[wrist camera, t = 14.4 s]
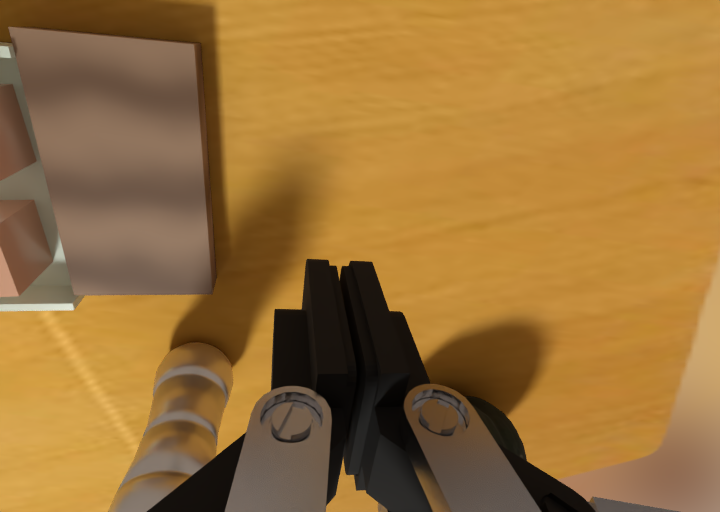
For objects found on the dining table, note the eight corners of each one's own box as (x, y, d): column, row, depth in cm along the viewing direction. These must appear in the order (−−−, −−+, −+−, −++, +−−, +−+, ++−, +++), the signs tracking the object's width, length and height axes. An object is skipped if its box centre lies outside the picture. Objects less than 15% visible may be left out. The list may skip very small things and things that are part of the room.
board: (30, 27, 27) (8, 26, 24) (200, 43, 28) (193, 44, 26) (87, 278, 35) (74, 295, 32) (216, 278, 37) (212, 294, 34)
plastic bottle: (214, 322, 39) (158, 565, 21) (248, 373, 42) (224, 620, 24) (147, 348, 39) (37, 611, 21) (186, 397, 42) (119, 659, 24)
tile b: (33, 199, 31) (-14, 200, 30) (-7, 227, 26) (-63, 228, 26) (53, 261, 33) (9, 262, 33) (18, 296, 29) (-32, 298, 28)
